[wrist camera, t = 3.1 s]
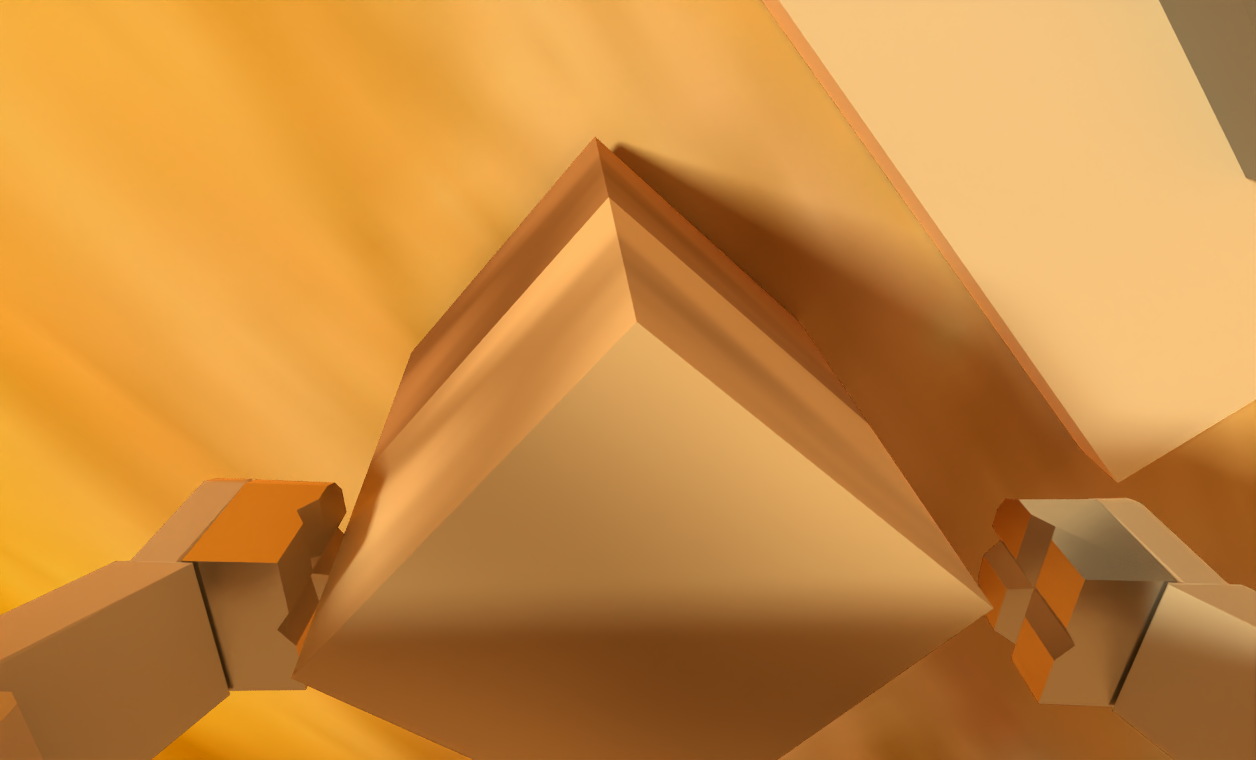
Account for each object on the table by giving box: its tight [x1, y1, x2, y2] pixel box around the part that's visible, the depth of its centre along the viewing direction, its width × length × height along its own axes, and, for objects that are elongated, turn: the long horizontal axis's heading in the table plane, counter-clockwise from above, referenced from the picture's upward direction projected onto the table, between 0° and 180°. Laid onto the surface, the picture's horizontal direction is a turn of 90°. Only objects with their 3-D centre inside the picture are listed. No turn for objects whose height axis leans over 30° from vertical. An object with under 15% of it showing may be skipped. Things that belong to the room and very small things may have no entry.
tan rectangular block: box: [291, 137, 993, 760], centre depth 11 cm, size 5×5×7 cm
